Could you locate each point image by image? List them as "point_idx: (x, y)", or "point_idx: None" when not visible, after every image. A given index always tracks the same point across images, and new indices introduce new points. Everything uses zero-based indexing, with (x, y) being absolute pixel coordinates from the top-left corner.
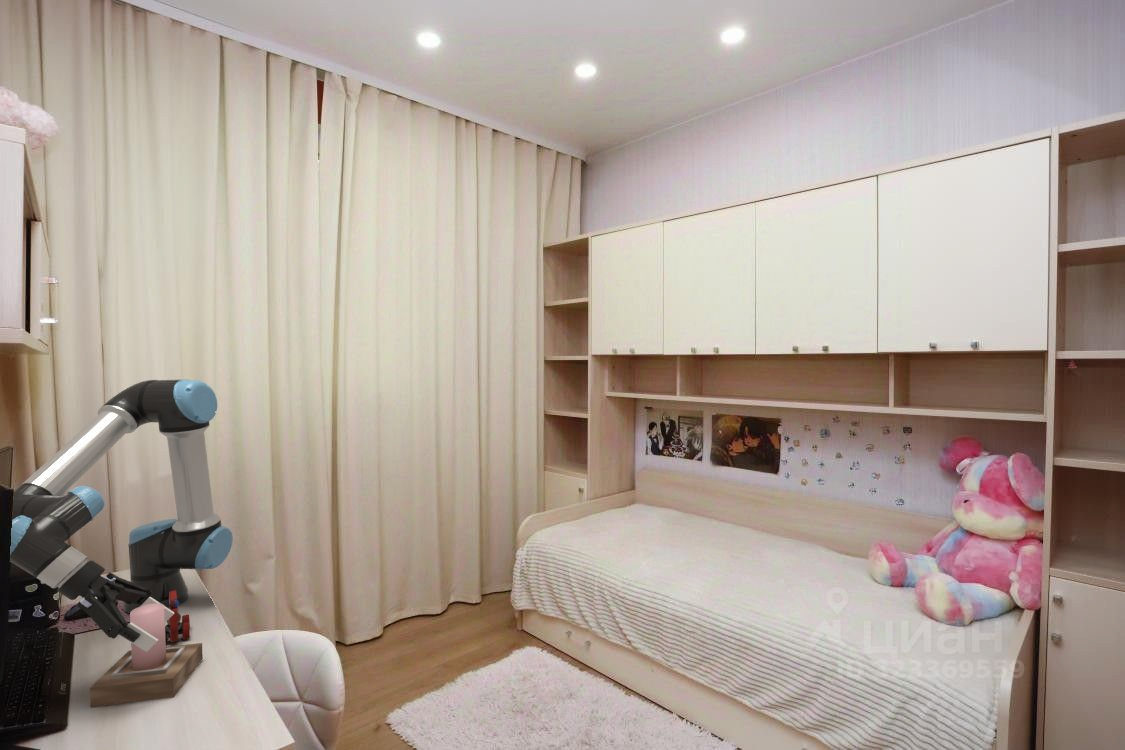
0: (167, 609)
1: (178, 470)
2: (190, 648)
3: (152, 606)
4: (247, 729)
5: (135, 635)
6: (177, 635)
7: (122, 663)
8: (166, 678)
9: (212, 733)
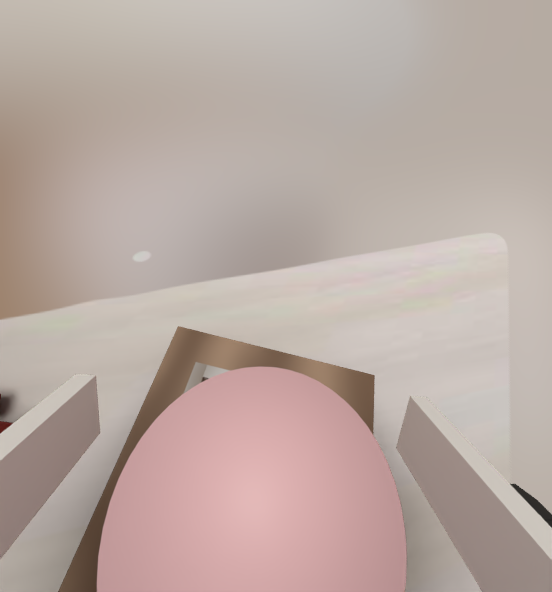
0: (59, 403)
1: None
2: (200, 353)
3: (203, 473)
4: (482, 263)
5: (542, 510)
6: (4, 422)
7: None
8: (372, 392)
9: (490, 305)
